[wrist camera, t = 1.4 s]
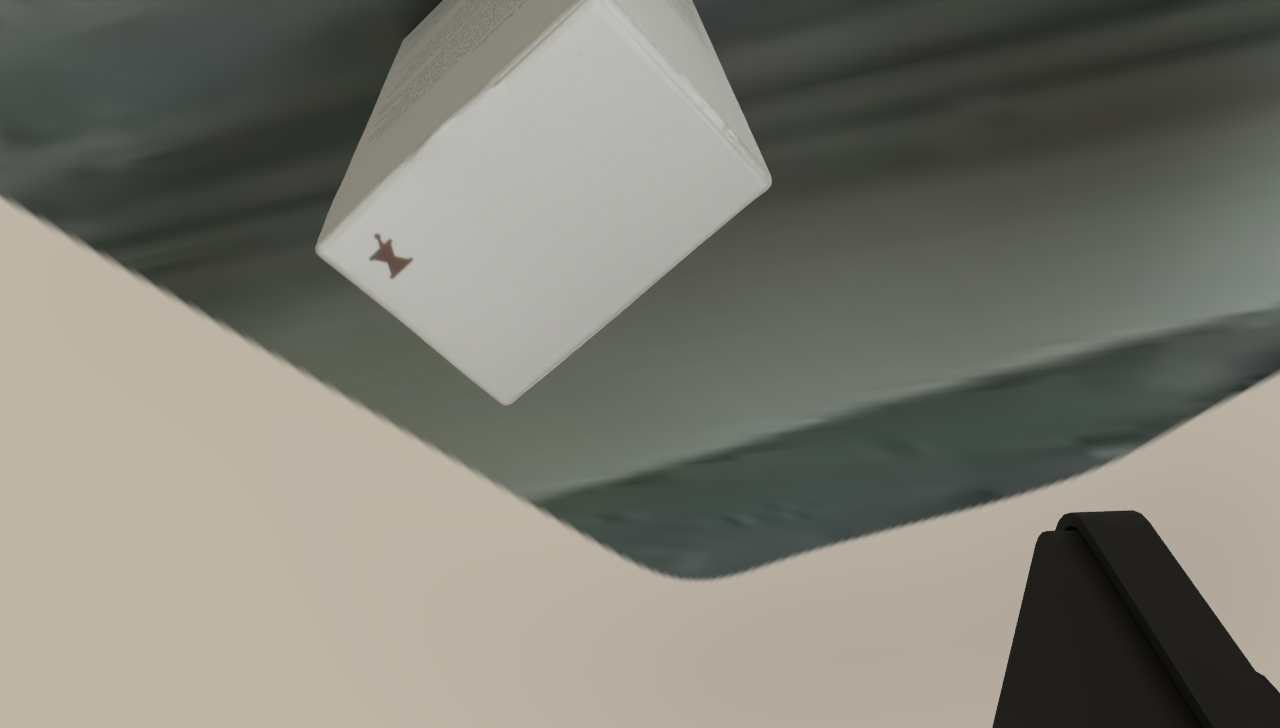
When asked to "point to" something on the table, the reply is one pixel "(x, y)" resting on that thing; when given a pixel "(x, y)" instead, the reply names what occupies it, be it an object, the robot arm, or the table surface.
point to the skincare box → (538, 176)
